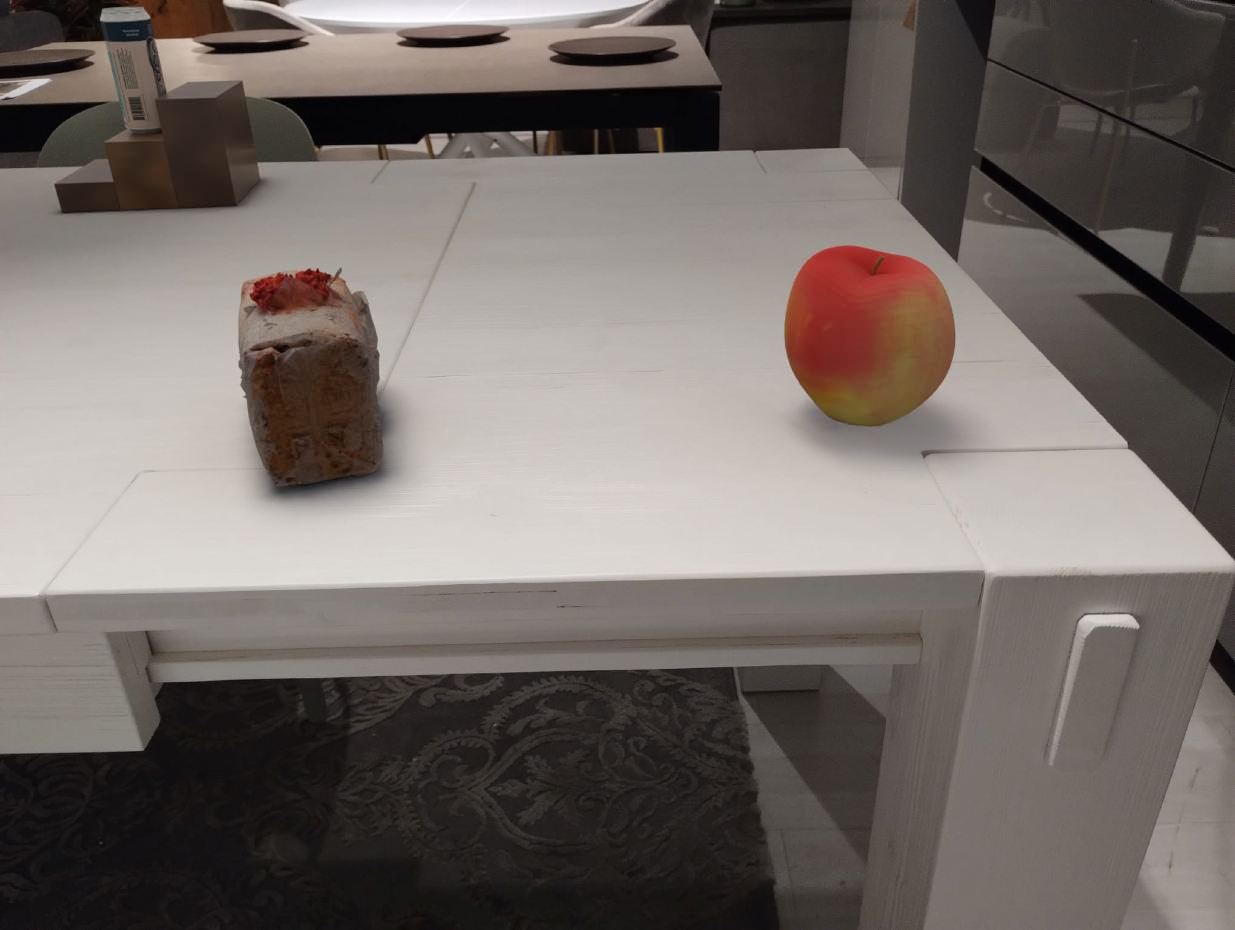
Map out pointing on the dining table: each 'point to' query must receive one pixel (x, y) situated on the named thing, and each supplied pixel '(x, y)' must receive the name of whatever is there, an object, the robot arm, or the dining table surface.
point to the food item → (310, 376)
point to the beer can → (134, 66)
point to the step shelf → (174, 157)
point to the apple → (868, 334)
